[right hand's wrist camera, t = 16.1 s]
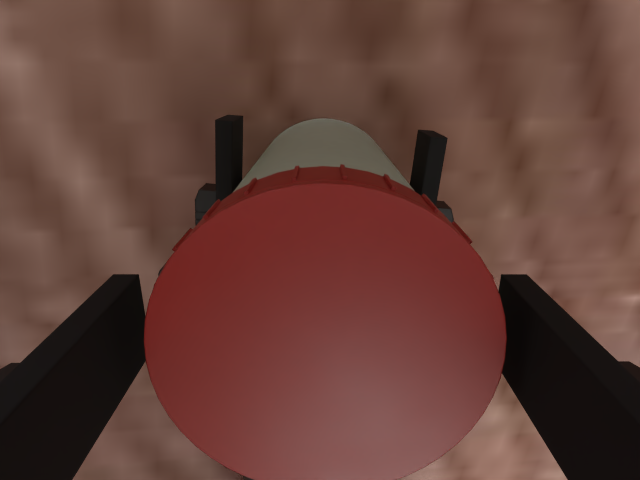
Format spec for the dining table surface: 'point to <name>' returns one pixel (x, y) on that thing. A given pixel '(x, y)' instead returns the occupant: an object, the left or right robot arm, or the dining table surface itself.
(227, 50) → the dining table surface
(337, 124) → the jar
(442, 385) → the lid
